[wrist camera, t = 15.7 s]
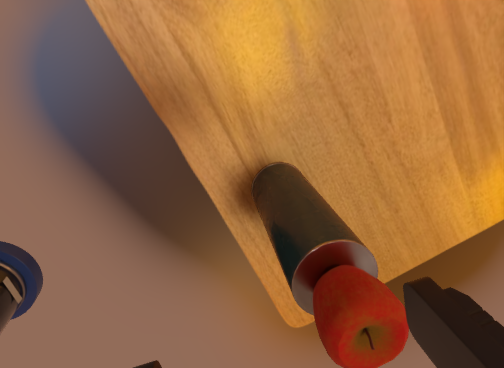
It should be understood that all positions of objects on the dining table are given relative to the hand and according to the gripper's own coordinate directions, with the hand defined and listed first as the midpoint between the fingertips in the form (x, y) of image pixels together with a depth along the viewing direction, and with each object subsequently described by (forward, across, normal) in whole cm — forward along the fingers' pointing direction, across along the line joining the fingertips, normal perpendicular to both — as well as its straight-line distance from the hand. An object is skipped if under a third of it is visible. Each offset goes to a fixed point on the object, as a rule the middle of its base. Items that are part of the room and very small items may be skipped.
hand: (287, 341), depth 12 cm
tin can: (+38, -6, +12) cm, 40 cm away
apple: (+16, -6, +12) cm, 21 cm away
